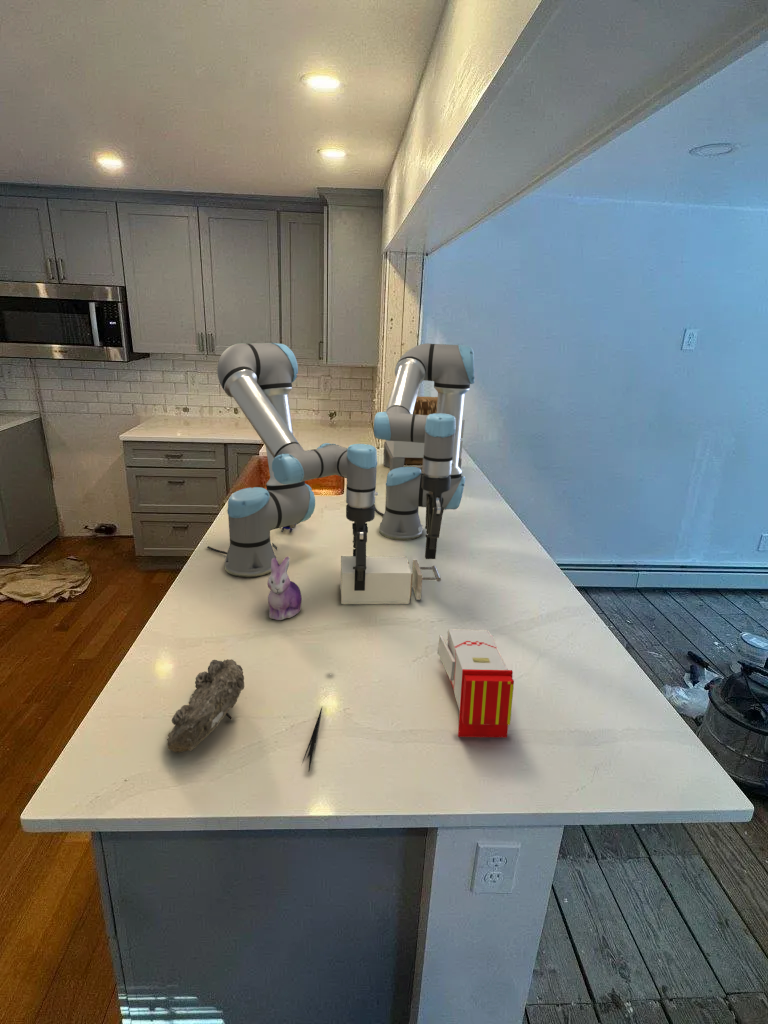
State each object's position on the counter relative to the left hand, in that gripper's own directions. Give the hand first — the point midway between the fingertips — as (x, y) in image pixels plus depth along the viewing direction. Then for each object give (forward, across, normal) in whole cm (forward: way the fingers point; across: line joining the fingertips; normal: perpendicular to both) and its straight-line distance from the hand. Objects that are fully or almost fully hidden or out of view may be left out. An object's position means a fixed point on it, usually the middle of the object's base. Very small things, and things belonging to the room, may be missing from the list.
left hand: (358, 580), depth 155 cm
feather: (+4, -50, +10) cm, 51 cm away
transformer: (+5, +123, -36) cm, 128 cm away
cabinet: (+4, 0, -4) cm, 6 cm away
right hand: (-7, 0, -19) cm, 21 cm away
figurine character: (+5, +50, +22) cm, 55 cm away
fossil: (+4, -48, +30) cm, 57 cm away
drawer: (+4, 0, -11) cm, 11 cm away
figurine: (+4, -9, +19) cm, 22 cm away
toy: (+4, -43, -21) cm, 48 cm away
